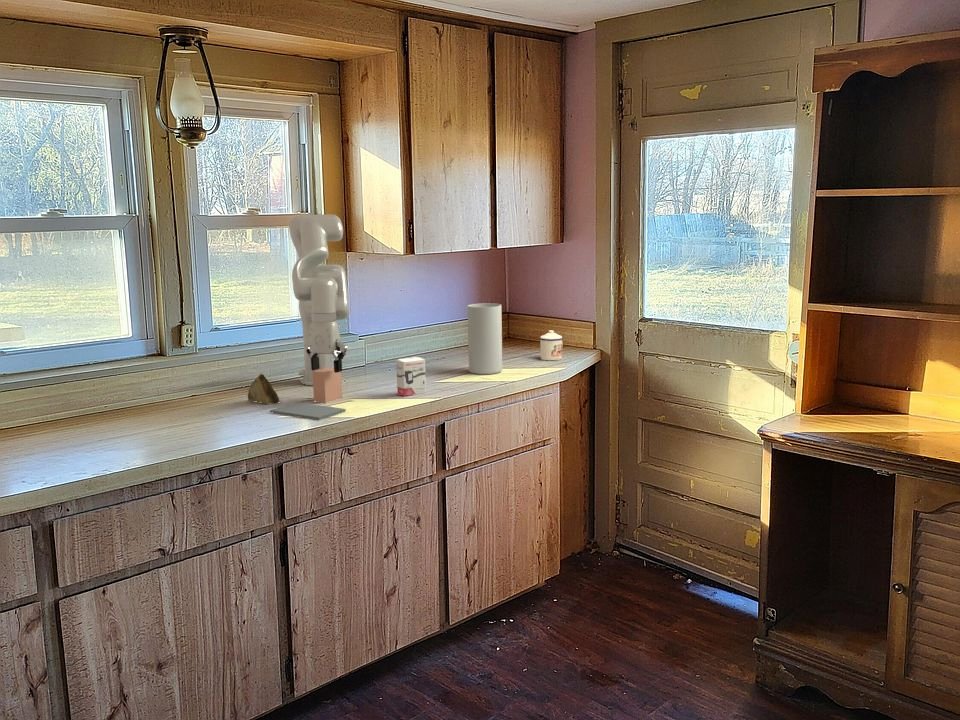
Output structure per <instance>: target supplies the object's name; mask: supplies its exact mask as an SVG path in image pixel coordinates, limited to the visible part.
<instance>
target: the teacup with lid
mask: <svg viewBox="0 0 960 720" xmlns="http://www.w3.org/2000/svg"><path fill="white" fill-rule="evenodd" d="M539 341H540V342H539V343H540V348H539V349H540V360H542V361H546V360H557V361H560V359H561V360H562V359H563V344H564V343H563V336H562V335H560V334H558V333H557V332H555V331H554V330H551V329H550V330H548V332H547V333H545V334H543V335H541V336H540V337H539Z"/></svg>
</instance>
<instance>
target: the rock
mask: <svg viewBox="0 0 960 720" xmlns="http://www.w3.org/2000/svg"><path fill="white" fill-rule="evenodd" d="M247 400H248V401H249V400H250V402H253V401H257V402H256V403H258V402H262V403H261V404H265V403H267V405H269V404H270V403H274V404H279V403H278V402H280V403H281V400H280V397H279V396H278V393H277V392H276V390H275V389H274V388H273V386H272V384H271V382H270V381H269V380H268V379H267V378H266V376H265V375H264V374H263V373H260V374H259V375H258V376H257V377H256V378H255V379H254V380H253V382H252V383H251V384H250V386H249V389H248V392H247ZM270 405H271V404H270Z"/></svg>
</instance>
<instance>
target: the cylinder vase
mask: <svg viewBox="0 0 960 720" xmlns="http://www.w3.org/2000/svg"><path fill="white" fill-rule="evenodd" d="M502 316H503V315H502V304H500V303H490V302H489V303H488V302H487V303H471V304H468V305H467V338H468V342H467V343H468V344H467V345H468V372H470V373H471V374H474V373H476V374H475V375H494V373H496V374H499V373H501V372H502V371H503V332H502V331H503V327H502V326H503V325H502V322H503V320H502Z"/></svg>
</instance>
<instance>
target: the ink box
mask: <svg viewBox="0 0 960 720" xmlns="http://www.w3.org/2000/svg"><path fill="white" fill-rule="evenodd" d="M395 363H396V386H397V395H399V394H400V395H399V396H402V395H403V396H402V397H407V396H406V395H410V396H414V395H413V394H417V395H421V394H420V393H424V394H427V388H426V387H427V384H426V383H427V382H426V359H425V358H421V357H420V356H413V357H407V358H406V357H405V358H399V359H396V361H395Z"/></svg>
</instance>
